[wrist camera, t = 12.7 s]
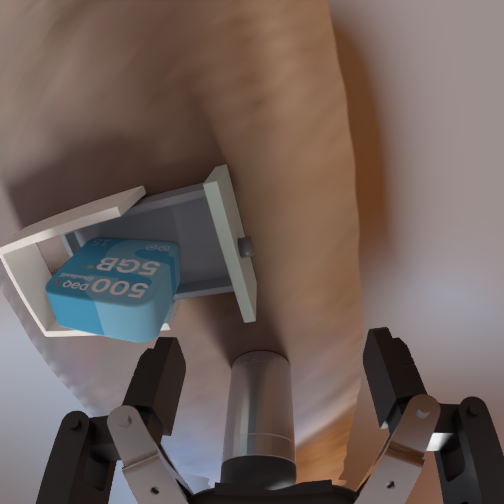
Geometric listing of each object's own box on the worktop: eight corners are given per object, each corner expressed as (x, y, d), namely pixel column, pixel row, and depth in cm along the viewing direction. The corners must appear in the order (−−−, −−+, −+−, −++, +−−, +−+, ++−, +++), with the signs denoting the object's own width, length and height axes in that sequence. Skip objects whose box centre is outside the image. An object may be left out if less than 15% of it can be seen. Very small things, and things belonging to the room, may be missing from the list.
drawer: (266, 281, 37) (267, 319, 31) (109, 304, 40) (89, 336, 34) (238, 161, 30) (231, 177, 24) (66, 211, 33) (34, 234, 27)
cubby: (183, 293, 39) (170, 329, 32) (65, 308, 41) (45, 336, 35) (143, 185, 32) (117, 206, 26) (24, 227, 35) (-4, 249, 28)
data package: (181, 241, 34) (147, 308, 23) (183, 275, 36) (155, 346, 25) (92, 235, 34) (38, 289, 23) (97, 266, 36) (52, 325, 25)
